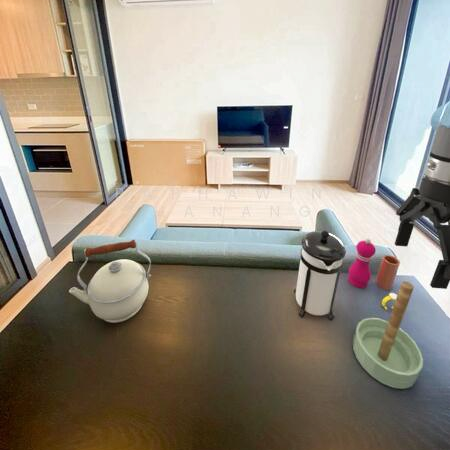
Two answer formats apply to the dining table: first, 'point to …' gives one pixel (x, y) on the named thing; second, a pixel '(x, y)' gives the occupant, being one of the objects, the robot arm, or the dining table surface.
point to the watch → (391, 296)
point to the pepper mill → (362, 264)
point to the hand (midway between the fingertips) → (417, 263)
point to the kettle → (115, 285)
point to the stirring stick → (395, 319)
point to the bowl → (398, 358)
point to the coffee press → (319, 273)
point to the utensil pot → (387, 272)
